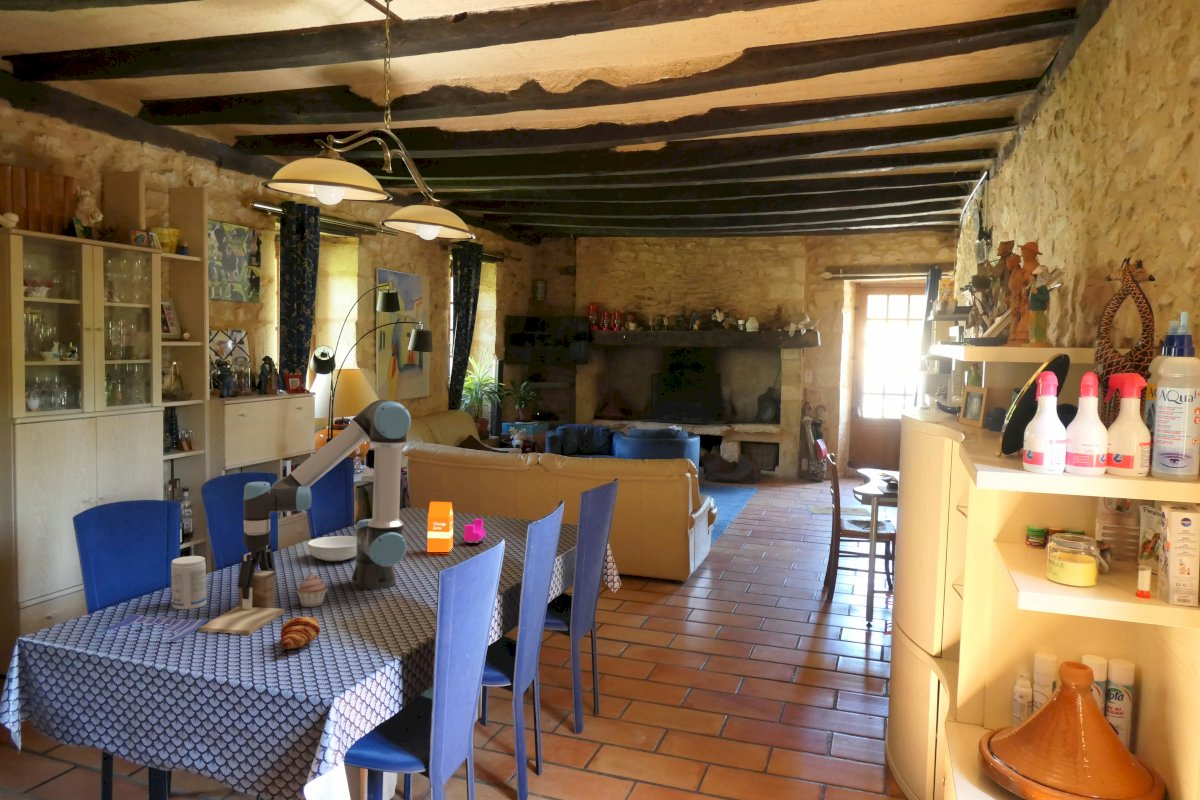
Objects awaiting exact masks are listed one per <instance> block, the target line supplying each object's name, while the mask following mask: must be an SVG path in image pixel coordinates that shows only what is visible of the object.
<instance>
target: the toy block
mask: <svg viewBox="0 0 1200 800" xmlns="http://www.w3.org/2000/svg"><path fill="white" fill-rule="evenodd" d="M486 534H487V533H486V530H484V519H483V518H474V519H473V524H470V523H469V524H465V525H464V533H463V535H464V537H463V538H464V539H463V540H464V541H479V540H480V539H482V538H483V537H484V536H485V537H486ZM464 541H463V542H464Z"/></svg>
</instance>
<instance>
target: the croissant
mask: <svg viewBox="0 0 1200 800" xmlns="http://www.w3.org/2000/svg"><path fill="white" fill-rule="evenodd" d="M319 623H320V622H319V620H318V618H315V617H313V616H306V615H304V616H296V617H292V618H291V619H289V620H287V621H286V622H285V623H284V624H283V625H282V627H281V629H280V643H279V644H280V646H281V647H282V648H283V649H285V650H290V649H296V648H301V647H303V646H304V645H306V644H310V643H312V641H313V640H314V639H316V638H317V637H318V636H319V635H320V634H321V627H320V625H319Z"/></svg>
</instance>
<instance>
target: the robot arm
mask: <svg viewBox="0 0 1200 800" xmlns="http://www.w3.org/2000/svg"><path fill="white" fill-rule="evenodd" d="M410 414H411V413H410V411H409V410H408V409H407V408H406V407H405V406H404V405H402V404H401V403H400V402H397V401H392V400H388V399H378V400H375V401H373V402H371V403H369V404H368V405H367V406H366V407H364V408H363V409H362V410H361V411H360V412H359V413H357V415H355V416H354V417H353V418H351V419H350V424H348V426H347V427H345V428H344V429H343V430H342V431H340V432H339V433H338V434H337V435H335V436H334V437H333V438H332V439H330V441H328V442H327V443H325V445H323V446H322V447H320V449H318V450H317V451H316V452H315V453H313V454H312V455H311V456H309V458H307V459H306V460H304V462H303V463H301V464H300V465H299V466H297V467H296V468H295V469H294V470H293V471H292V470H291V472H290V473H289V474H287V476H285V477H284V478H282V479H279V480H277V481H276V480H275V482H274V483H273V484H272V485H271V483H270V482H269V481H251V482H247V483H246V484H245V485H244V489H243V498H242V499H243V523H242V524H243V532H244V534H243V546H245V547H247V552H246V553H245V554H244V553H241V556H240V557H241V558H240V559H241V561H240V562H241V563H240V568H239V573H238V580H237V588H238V589H239V588H242V609H252V587H251V583H252V579H253V576H254V572H255V570H257V567H258V566H259V569H260V570H261V571H275V570H276V569H275V564H274V559H273V551H272V550H273V549H272V547H273V545H271V533H270V531H271V513H281V512H301V511H306V510H307V511H308V510H309V509H310V508H311V507H312V491H311V488H310V487H311V486H312V485H314V484H315V483H316V482H317V481H319V480H320V479H321V478H322V477H324V476H325V475H326V474H327V473H328V472H330V471H331V470H332V469H333V468H335V467H336V466H337V465H338V464H339V463H340V462H342V461H343V460H344V459H346V458H347V457H348V456H349V455H350V454H352V453H353V452H354V451H355V450H356V449H358V448H360V447H361V446H362V445H363V444H364V443H365V442H370V443H371V444H372V446H373V447H374V458H373V460H374V462H373V491H372V493H373V494H372V517H371V518H364V519H361V520H358V522H357V523H356V528H355V531H356V537H357V555H356V556H355V557H356V560H355V561H356V562H355V563H356V564H355V567H354V570H353V573H352V575H351V579H350V586H351V585H352V586H353V587H352V586H351V587H352V588H354V587H355V588H354V589H356V588H359V589H358V590H361V589H381V588H386V587H389V586H392V585H394V584H395V583H396V584H397V575H396V573H395V569H394V567H393V566H395V565H397V564H398V563H400V562H401V561H402V560H403V558H405V555H406V553H407V547H408V545H407V542H406V538H405V537H404V522H403V521H402V520H401V519H400V506H401V505H400V502H401V475H402V474H401V470H402V447H403V446H404V445H405V444H406V443H407V434H408V432H409V430H410V428H411V425H412V418H411V415H410ZM275 572H276V571H275ZM396 584H395V585H396ZM395 585H394V586H395ZM392 587H393V586H392ZM386 589H387V588H386ZM381 590H382V589H381Z"/></svg>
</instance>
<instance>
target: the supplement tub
mask: <svg viewBox="0 0 1200 800" xmlns="http://www.w3.org/2000/svg"><path fill="white" fill-rule="evenodd" d="M170 566H171V567H170V570H171V571H170V572H171V573H170V574H171V577H170V579H171V607H172V608H173V609H176V610H193V609H197V608H198V609H199V608H201V607H203V606H205V605H206V604H207V601H208V599H207V566H206V558H205V557H204V556H199V555H188V556H186V555H185V556H180V557H178V558H174V559H173V560H171V565H170Z"/></svg>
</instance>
